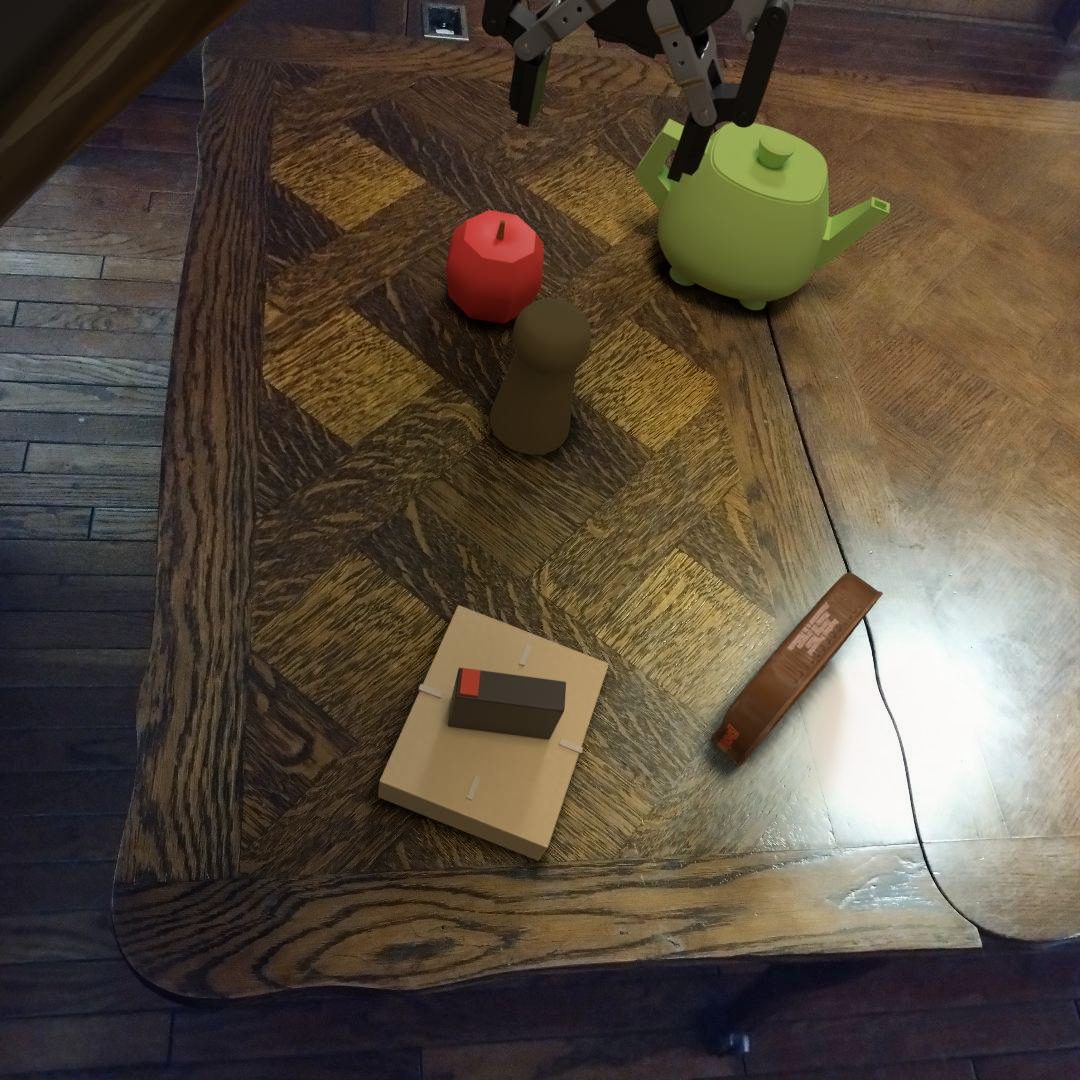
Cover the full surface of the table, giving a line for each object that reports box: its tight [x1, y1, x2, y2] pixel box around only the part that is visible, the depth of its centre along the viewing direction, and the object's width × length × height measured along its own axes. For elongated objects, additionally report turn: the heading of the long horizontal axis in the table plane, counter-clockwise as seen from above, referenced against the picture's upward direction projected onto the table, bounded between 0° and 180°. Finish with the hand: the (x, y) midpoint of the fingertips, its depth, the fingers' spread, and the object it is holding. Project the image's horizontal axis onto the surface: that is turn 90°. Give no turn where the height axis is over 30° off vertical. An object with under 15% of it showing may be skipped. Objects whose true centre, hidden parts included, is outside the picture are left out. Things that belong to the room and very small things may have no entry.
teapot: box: [633, 118, 891, 311], centre depth 80 cm, size 20×13×13 cm
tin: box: [710, 572, 884, 768], centre depth 61 cm, size 15×3×8 cm, turn 137°
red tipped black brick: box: [448, 668, 566, 739], centre depth 55 cm, size 6×2×5 cm, turn 86°
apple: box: [445, 209, 545, 324], centre depth 75 cm, size 8×8×8 cm
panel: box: [377, 604, 610, 861], centre depth 59 cm, size 12×10×3 cm
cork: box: [489, 297, 592, 456], centre depth 68 cm, size 6×6×11 cm
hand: (601, 144), depth 53 cm, fingers open, 8 cm apart
